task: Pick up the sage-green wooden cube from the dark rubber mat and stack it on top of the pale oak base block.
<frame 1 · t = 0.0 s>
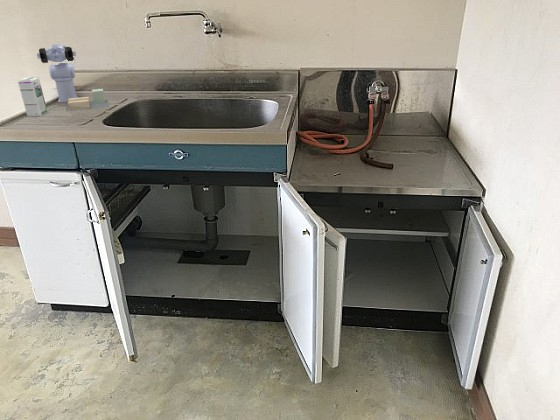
hand: (55, 55, 186), 22 cm above the table, tool horizontal, fingers open, 7 cm apart
syrup box: (37, 115, 189), on the table
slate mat: (87, 106, 201), on the table
sage block: (99, 101, 205), point 1 cm above the table, touching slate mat
oak base: (80, 106, 198), point 1 cm above the table, touching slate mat
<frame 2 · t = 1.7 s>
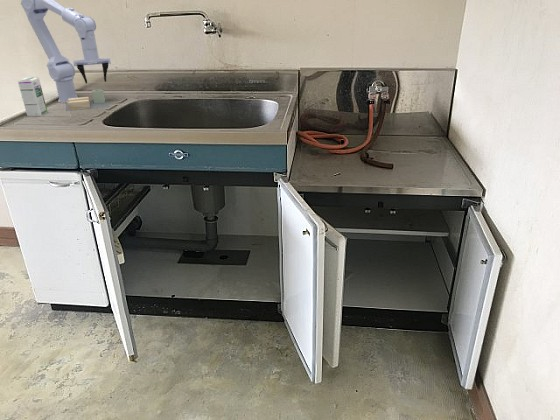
hand: (96, 82, 201), 9 cm above the table, tool pointing down, fingers open, 7 cm apart
nothing on the table moved.
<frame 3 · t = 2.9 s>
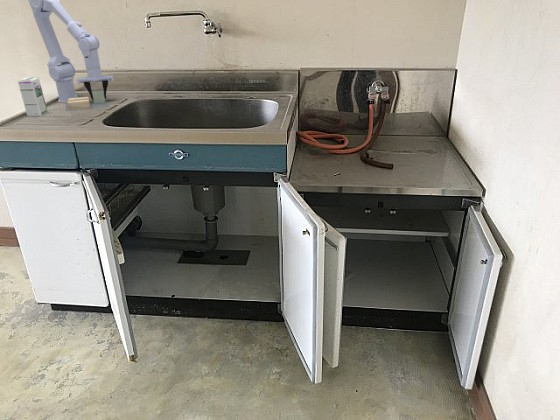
hand: (99, 99, 205), 2 cm above the table, tool pointing down, fingers closed on sage block, 4 cm apart
sage block: (99, 101, 205), point 1 cm above the table, touching gripper, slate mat
everything else where it was.
when the fingers open (6 cm above the table, at t = 6.1 s): sage block stays where it is, resting on oak base.
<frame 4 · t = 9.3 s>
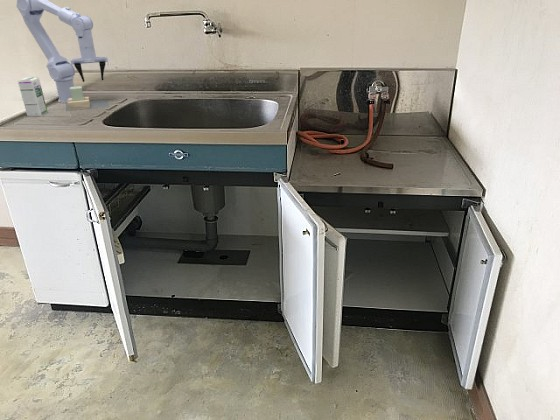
hand: (93, 80, 203), 9 cm above the table, tool pointing down, fingers open, 7 cm apart
sage block: (78, 99, 196), point 4 cm above the table, touching oak base
oak base: (80, 106, 198), point 1 cm above the table, touching sage block, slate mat
everything else where it was.
at the end: sage block 0.1 cm from the oak base (horizontally); sage block point 3.6 cm above the table; sage block tilted 0° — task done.
